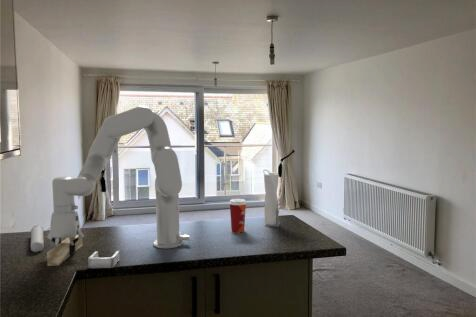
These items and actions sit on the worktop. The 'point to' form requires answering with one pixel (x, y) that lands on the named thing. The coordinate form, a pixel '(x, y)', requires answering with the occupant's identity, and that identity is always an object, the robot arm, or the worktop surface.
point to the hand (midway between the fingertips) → (66, 253)
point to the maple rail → (61, 252)
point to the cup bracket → (103, 261)
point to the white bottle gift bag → (271, 199)
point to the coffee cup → (237, 214)
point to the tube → (37, 239)
